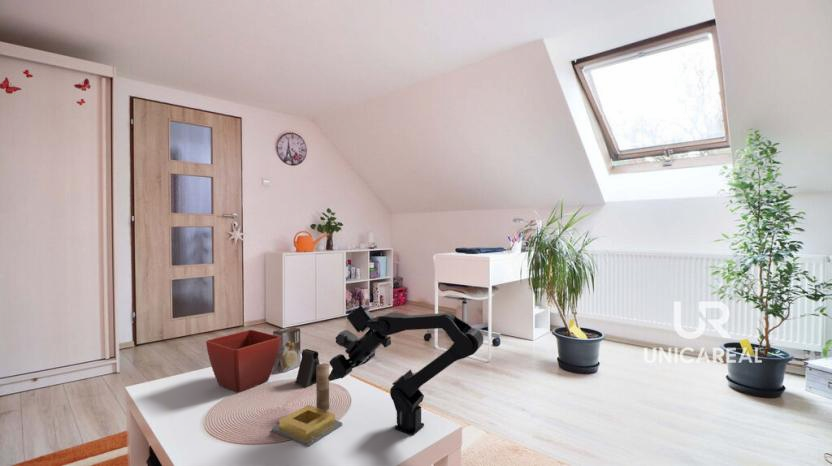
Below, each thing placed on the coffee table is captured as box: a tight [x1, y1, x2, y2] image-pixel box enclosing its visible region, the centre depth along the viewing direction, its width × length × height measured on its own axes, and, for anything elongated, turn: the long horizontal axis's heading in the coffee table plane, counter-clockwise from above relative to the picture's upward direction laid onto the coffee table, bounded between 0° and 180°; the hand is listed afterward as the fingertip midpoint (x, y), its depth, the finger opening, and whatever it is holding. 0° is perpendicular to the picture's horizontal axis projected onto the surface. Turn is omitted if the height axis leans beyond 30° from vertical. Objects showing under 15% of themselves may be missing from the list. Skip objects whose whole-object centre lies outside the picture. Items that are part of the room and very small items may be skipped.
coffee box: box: [272, 326, 302, 373], centre depth 160 cm, size 9×6×16 cm
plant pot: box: [205, 329, 280, 393], centre depth 144 cm, size 19×19×17 cm
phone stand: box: [294, 348, 321, 388], centre depth 145 cm, size 9×6×12 cm, turn 147°
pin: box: [315, 362, 330, 411], centre depth 124 cm, size 4×4×14 cm
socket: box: [271, 404, 343, 447], centre depth 112 cm, size 15×13×3 cm
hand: (337, 374), depth 122 cm, fingers open, 9 cm apart
